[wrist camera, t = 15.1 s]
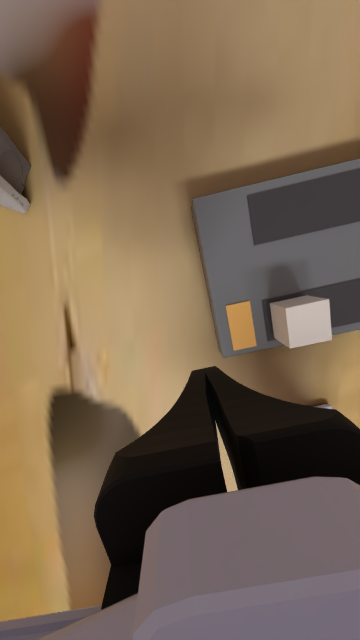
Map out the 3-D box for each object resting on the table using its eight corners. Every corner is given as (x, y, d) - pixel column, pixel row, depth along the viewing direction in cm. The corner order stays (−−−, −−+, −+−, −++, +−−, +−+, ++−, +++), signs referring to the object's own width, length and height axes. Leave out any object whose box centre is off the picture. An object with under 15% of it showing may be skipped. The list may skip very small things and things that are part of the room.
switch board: (475, 296, 20) (510, 298, 17) (218, 349, 21) (223, 358, 18) (487, 136, 17) (530, 116, 15) (191, 206, 18) (192, 198, 16)
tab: (310, 330, 18) (332, 339, 15) (274, 338, 18) (290, 348, 15) (306, 295, 17) (329, 298, 15) (269, 303, 17) (285, 308, 15)
